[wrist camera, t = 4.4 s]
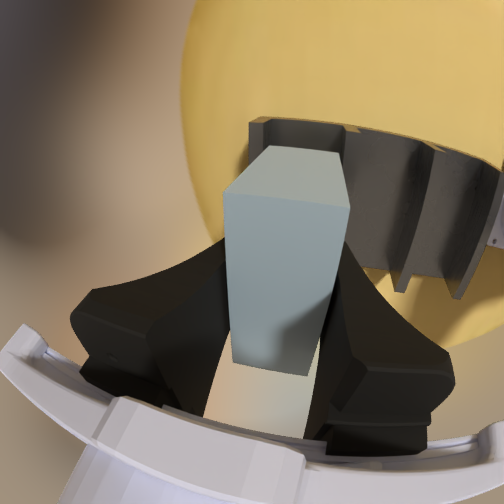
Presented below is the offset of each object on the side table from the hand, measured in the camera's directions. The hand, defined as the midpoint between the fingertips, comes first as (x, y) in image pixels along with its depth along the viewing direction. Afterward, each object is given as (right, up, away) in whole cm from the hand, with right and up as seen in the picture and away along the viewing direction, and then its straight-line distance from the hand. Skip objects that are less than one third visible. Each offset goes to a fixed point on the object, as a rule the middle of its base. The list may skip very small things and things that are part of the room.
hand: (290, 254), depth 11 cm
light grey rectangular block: (+1, +2, +2) cm, 3 cm away
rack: (+7, +4, +7) cm, 10 cm away
